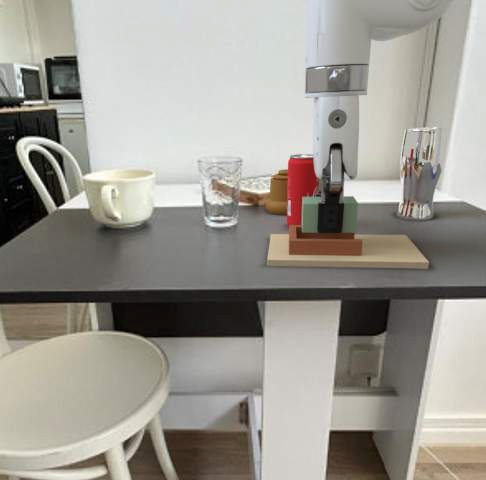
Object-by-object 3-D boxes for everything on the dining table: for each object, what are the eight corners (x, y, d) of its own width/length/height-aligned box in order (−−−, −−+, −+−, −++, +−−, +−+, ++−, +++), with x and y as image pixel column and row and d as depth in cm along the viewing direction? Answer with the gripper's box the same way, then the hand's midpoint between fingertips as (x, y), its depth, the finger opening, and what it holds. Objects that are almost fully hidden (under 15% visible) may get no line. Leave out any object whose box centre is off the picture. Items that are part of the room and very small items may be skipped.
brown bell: (306, 215, 82) (266, 216, 83) (301, 206, 89) (264, 207, 90) (308, 172, 79) (267, 173, 80) (303, 166, 86) (264, 168, 87)
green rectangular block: (302, 232, 59) (303, 203, 58) (301, 224, 63) (302, 196, 62) (355, 232, 58) (358, 203, 57) (351, 224, 62) (353, 196, 61)
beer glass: (385, 214, 81) (394, 129, 75) (416, 210, 83) (427, 126, 77) (412, 223, 74) (424, 130, 69) (445, 218, 76) (459, 128, 71)
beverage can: (298, 222, 78) (300, 153, 74) (323, 227, 74) (327, 154, 70) (280, 228, 75) (281, 156, 70) (306, 234, 71) (309, 158, 67)
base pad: (405, 241, 66) (407, 221, 64) (428, 269, 55) (431, 246, 54) (270, 239, 69) (270, 221, 68) (267, 266, 58) (267, 244, 57)
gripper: (380, 79, 46) (365, 246, 52) (357, 84, 61) (348, 212, 68) (307, 83, 47) (301, 245, 54) (302, 87, 62) (299, 212, 69)
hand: (328, 225), depth 61 cm, fingers closed on green rectangular block, 4 cm apart
